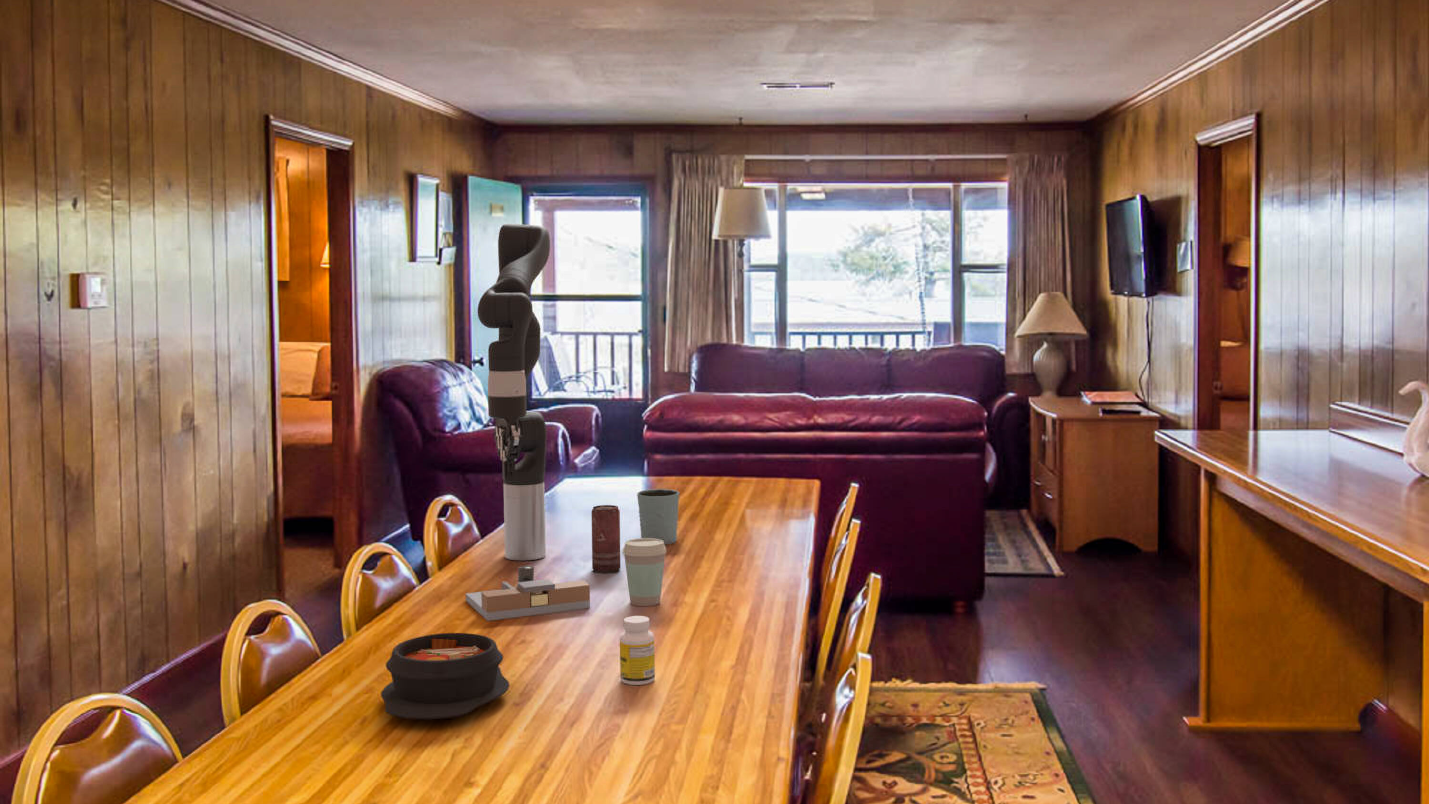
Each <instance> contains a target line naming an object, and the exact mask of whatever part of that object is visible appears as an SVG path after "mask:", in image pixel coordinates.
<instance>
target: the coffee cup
mask: <svg viewBox="0 0 1429 804" xmlns="http://www.w3.org/2000/svg"><path fill="white" fill-rule="evenodd" d="M666 553H667V547H666V544H664V542H663V541H662V540H659V539H652V538H641V537H640V538H634V539H633V538H632V539H629V540H627V541H625V543H624V547H622V554H623V555H624V563H625V572H626V578H627V579H626V580H627V588H628V595H629V603H630V604H631V605H632V606H636V607H652V606H653V607H654V606H657V605H659V604H660V603H661V598H662V596H661V595H662V587H663V577H664V566H665V559H666V558H665V556H666Z"/></svg>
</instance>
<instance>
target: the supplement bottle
mask: <svg viewBox="0 0 1429 804" xmlns="http://www.w3.org/2000/svg"><path fill="white" fill-rule="evenodd" d="M650 626H651V625H650V618H649V617H648V616H645V615H632V616H627V617H625V618H624V619H623V629H624V630H625V631H623V632H622V633H621V634H620V635H619V665H620V667H619V669H620V670H619V673H620V674H619V675H620V681H621V682H622V683H623V684H625V685H628V686H629V685H630V686H643V685H648V684H651V683H652V682H654V681H655V678H656V677H655V676H656V663H655V662H656V661H655V659H656V658H655V657H656V655H655V635H654V633H653V632H652V631H651V630H649V629H650Z"/></svg>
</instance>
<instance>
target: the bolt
mask: <svg viewBox="0 0 1429 804" xmlns="http://www.w3.org/2000/svg"><path fill="white" fill-rule="evenodd" d="M534 568H535V567H534V566H533V565H521V566H518V567H517V576H518V577H517V581H518V582H527V581H535V570H534ZM518 582H517V583H518ZM517 583H516V584H515V588H517ZM540 605H548V594H547V593H545V592H544V591H536V592H530V606H540Z"/></svg>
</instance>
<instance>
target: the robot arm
mask: <svg viewBox="0 0 1429 804" xmlns="http://www.w3.org/2000/svg"><path fill="white" fill-rule="evenodd" d="M550 239H551V238H550V234H549V231H548V229H547V228H546V227H544V226H541V225H537V224H516V223H515V224H512V223H505V224H502V226H501V227H500V229H499V232H498V239H497V249H498V251H497V252H498V253H497V256H498V273H499V274H498V276H497V279H496V282H495V284H493V285H492V286H490V288H488V289H487V290H486V291H484V293H483V294H482V296H481V297H480V299H479V302H478V305H477V317H478V320H479V321H480V323H481V325H483V326H484V327H486V328H489V329H498V340H495V341H492V342H490V343H489V345H488V351H487V352H488V377H487V402H488V403H487V404H488V405H487V408H488V411H487V412H488V417H489V418H492V419H495V425H494V430H493V435H494V441H495V446H496V449H497V456H498V457H499V459H500V460H501V462H502V466H501V467H502V468H501V469H502V473H501V474H502V479H503V480H502V481H503V518H504V519H503V520H504V522H503V523H504V558H505V559H507V560H511V561H532V560H533V561H534V560H539V559H543V558H545V557H546V556H547V554H546V550H547V548H546V509H545V508H546V504H545V502H546V500H545V499H546V498H545V473H546V467H547V466H546V458H547V457H546V456H547V454H546V453H547V452H546V450H547V426H546V421H545V418H544V416H543V414H542V413H541V412H539V411H528V410H527V379H528V378H529V376H530V375H531V373H532V371H533V369H534V368H535V366H536V365H537V363H538V361H539V358H540V355H541V325H540V322H539V319H538V318H537V316H536V314H535V312H534V311H533V304H532V300H531V298H530V297H529V295H530V292H531V290H532V286H533V283H534V282H535V279H536V278H538V276H539V275H540V273H541V272H542V271H543V270H544V268H545V267H546V264H547V263H548V260H549V256H550V251H551V250H550V249H551V240H550ZM520 454H524V457H523V458H522V459H521V460H520V461H519V462H517V463H516V461H517V460H519V458H520Z"/></svg>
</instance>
